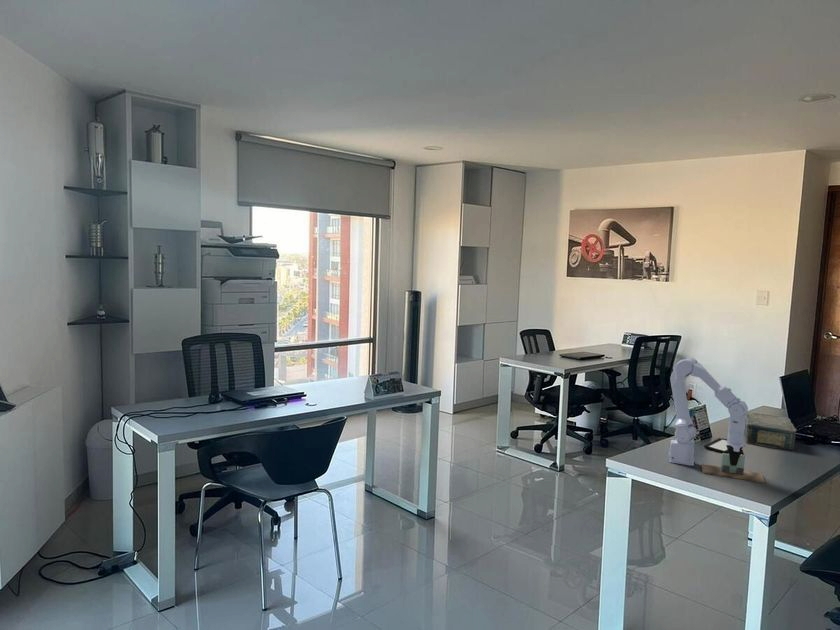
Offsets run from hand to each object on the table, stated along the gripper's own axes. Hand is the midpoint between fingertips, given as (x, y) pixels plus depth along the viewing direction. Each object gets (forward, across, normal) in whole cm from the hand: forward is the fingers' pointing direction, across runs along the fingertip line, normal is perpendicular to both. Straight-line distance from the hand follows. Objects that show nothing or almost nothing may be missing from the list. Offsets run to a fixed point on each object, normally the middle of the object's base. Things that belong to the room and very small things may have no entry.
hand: (733, 464), depth 243 cm
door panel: (+3, 0, 0) cm, 3 cm away
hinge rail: (+4, 0, 0) cm, 4 cm away
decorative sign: (+5, +41, -2) cm, 41 cm away
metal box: (+4, +71, -21) cm, 74 cm away
